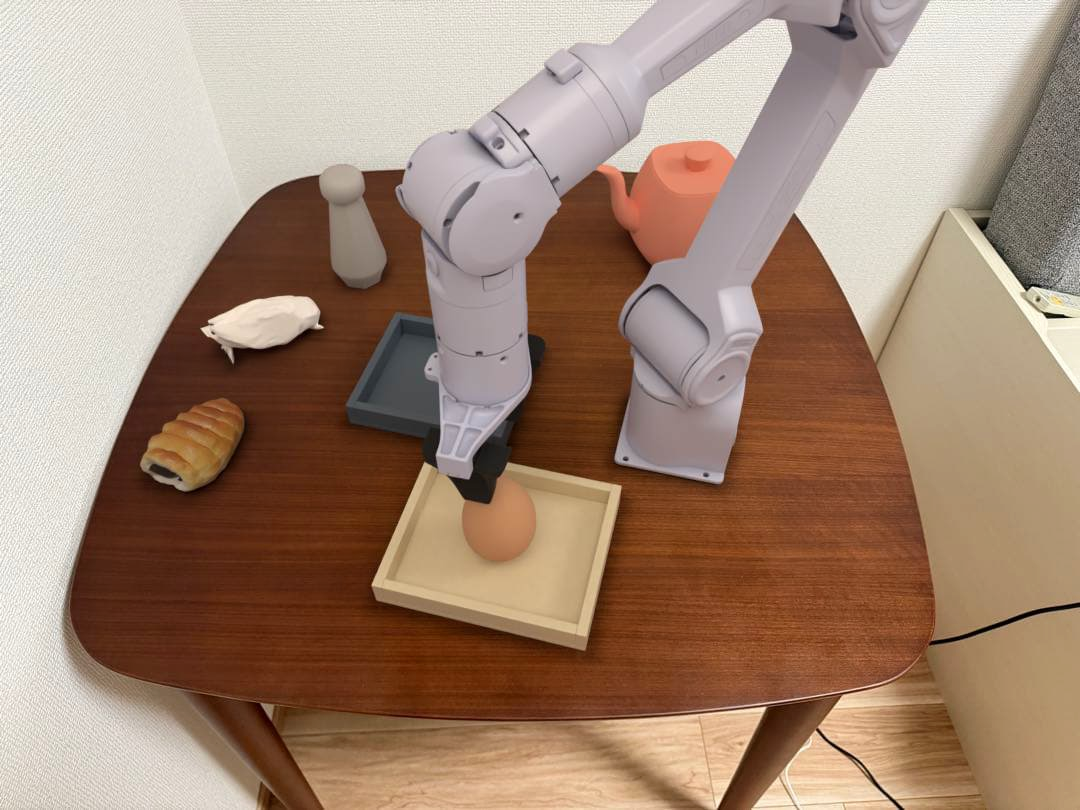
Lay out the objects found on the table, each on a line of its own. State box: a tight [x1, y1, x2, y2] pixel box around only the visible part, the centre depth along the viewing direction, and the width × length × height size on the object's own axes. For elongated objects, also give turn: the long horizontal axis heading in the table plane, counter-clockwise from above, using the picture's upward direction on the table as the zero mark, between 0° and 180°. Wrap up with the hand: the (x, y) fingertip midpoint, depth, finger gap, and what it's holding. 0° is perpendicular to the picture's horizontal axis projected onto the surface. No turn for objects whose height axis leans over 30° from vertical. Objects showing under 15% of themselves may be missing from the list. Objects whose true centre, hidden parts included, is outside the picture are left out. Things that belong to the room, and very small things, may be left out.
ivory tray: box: [370, 461, 623, 652], centre depth 65 cm, size 17×14×2 cm
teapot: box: [594, 140, 736, 267], centre depth 86 cm, size 13×20×12 cm, turn 100°
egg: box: [462, 476, 536, 562], centre depth 63 cm, size 6×6×8 cm
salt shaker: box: [318, 163, 388, 290], centre depth 83 cm, size 6×6×13 cm
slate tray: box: [345, 311, 515, 446], centre depth 77 cm, size 15×13×2 cm
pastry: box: [139, 397, 245, 493], centre depth 72 cm, size 9×7×4 cm
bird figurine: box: [200, 295, 325, 364], centre depth 80 cm, size 5×7×10 cm
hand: (492, 455), depth 61 cm, fingers open, 7 cm apart
